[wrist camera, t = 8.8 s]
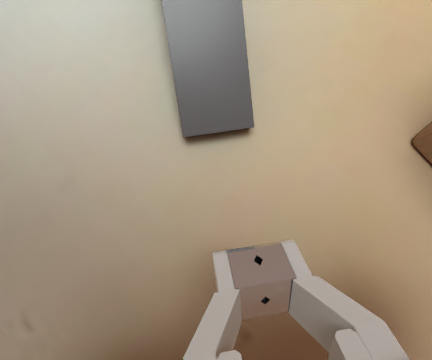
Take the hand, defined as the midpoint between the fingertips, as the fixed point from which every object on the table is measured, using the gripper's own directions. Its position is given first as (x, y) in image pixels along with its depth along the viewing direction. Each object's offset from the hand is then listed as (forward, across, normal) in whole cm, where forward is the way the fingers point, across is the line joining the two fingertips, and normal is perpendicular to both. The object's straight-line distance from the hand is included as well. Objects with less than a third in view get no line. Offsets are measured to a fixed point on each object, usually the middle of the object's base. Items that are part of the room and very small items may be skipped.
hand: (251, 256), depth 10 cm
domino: (+12, 0, 0) cm, 12 cm away
